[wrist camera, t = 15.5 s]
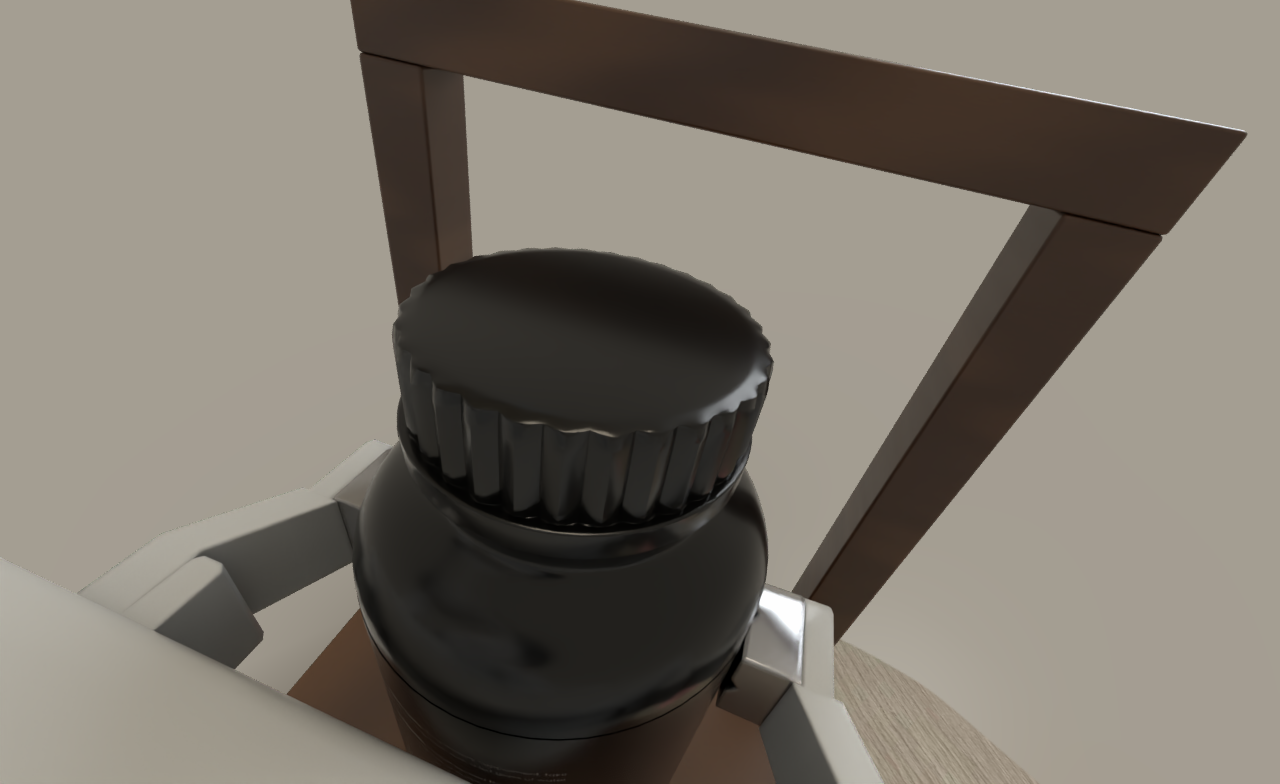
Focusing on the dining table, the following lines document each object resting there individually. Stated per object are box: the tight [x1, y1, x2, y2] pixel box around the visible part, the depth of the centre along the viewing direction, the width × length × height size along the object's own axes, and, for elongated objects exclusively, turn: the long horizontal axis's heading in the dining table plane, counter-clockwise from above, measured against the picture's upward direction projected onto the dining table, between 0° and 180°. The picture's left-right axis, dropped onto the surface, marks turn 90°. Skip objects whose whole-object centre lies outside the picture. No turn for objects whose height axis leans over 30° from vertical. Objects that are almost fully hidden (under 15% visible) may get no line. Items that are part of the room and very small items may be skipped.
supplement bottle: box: [352, 248, 773, 784], centre depth 10 cm, size 7×7×12 cm
